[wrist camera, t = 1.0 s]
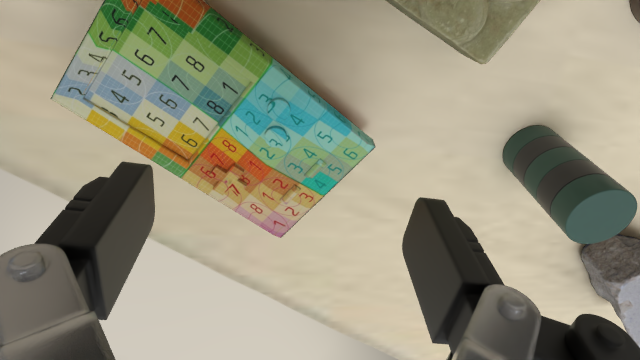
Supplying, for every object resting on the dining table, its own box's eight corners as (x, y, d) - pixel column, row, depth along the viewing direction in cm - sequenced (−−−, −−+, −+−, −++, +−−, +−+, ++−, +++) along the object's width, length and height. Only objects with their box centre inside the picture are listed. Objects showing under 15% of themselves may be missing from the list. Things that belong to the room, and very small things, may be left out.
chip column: (508, 126, 34) (577, 192, 26) (563, 123, 34) (649, 187, 26) (497, 173, 37) (557, 246, 29) (548, 170, 37) (622, 242, 29)
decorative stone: (623, 308, 49) (699, 257, 44) (664, 360, 44) (756, 309, 39) (538, 270, 45) (611, 210, 40) (571, 323, 39) (661, 260, 34)
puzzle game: (280, 245, 34) (43, 104, 26) (282, 211, 38) (75, 80, 30) (377, 152, 30) (126, -50, 22) (367, 126, 34) (152, -54, 26)
